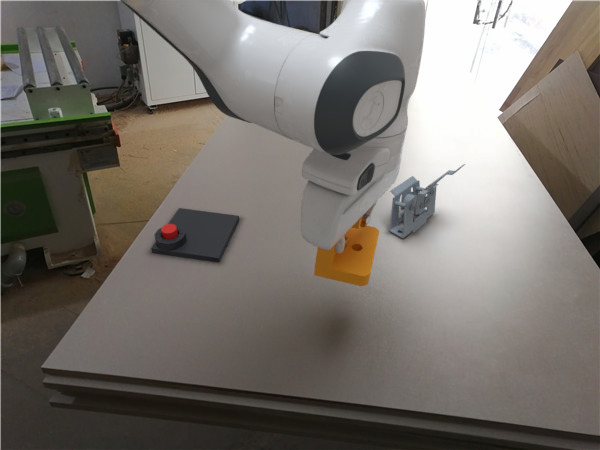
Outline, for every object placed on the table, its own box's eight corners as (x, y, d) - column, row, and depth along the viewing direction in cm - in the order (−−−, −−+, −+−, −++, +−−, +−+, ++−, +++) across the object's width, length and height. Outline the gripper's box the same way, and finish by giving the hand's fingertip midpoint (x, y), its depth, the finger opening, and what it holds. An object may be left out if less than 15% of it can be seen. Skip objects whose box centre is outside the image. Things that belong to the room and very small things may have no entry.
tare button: (174, 240, 80) (172, 234, 79) (159, 238, 80) (158, 232, 79) (180, 231, 82) (179, 224, 81) (166, 229, 83) (164, 222, 82)
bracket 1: (366, 292, 54) (381, 220, 46) (313, 279, 55) (319, 207, 48) (377, 242, 62) (391, 174, 54) (331, 232, 63) (338, 165, 56)
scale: (219, 262, 79) (217, 251, 78) (152, 252, 81) (149, 241, 79) (239, 219, 90) (238, 209, 88) (179, 212, 92) (177, 201, 90)
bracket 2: (417, 247, 85) (433, 187, 75) (378, 226, 90) (389, 167, 81) (446, 221, 92) (465, 164, 83) (409, 203, 97) (423, 147, 88)
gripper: (377, 110, 55) (364, 194, 64) (292, 170, 42) (289, 267, 50) (421, 122, 53) (401, 208, 61) (345, 191, 39) (333, 289, 47)
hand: (350, 236), depth 56 cm, fingers closed on bracket 1, 5 cm apart
